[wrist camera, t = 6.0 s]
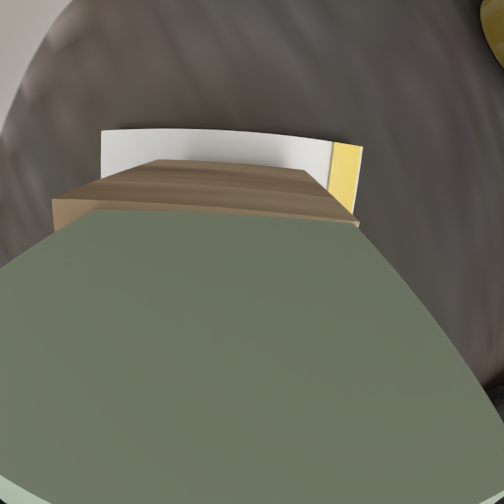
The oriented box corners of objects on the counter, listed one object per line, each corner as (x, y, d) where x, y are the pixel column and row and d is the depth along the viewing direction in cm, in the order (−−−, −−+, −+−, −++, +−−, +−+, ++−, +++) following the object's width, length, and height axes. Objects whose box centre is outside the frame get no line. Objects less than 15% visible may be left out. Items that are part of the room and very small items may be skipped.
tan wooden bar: (254, 460, 17) (252, 536, 11) (180, 451, 17) (164, 526, 11) (304, 170, 10) (359, 222, 4) (158, 159, 10) (51, 198, 4)
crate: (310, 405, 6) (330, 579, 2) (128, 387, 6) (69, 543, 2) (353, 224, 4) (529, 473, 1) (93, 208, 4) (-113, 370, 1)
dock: (292, 415, 22) (294, 437, 20) (145, 398, 22) (137, 419, 20) (350, 144, 14) (364, 147, 12) (119, 130, 14) (98, 130, 12)
